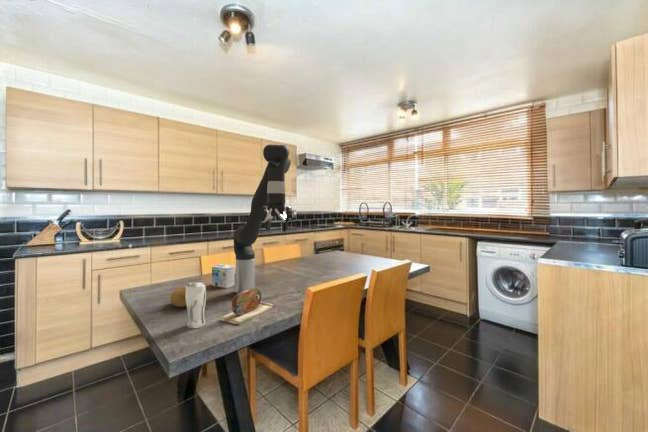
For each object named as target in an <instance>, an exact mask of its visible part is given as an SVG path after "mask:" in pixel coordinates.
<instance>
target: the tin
mask: <svg viewBox="0 0 648 432" xmlns="http://www.w3.org/2000/svg"><path fill="white" fill-rule="evenodd" d="M260 302H262V293H261V291H260V289H259V288H256V287H255V289H254V288H251V289H248V290H246V291H243V292H241V293H239V294H235V296H234V297H233V299H232V301H231V312H234V313H235V314H237V315H244V314H246V313H248V312H250V311H252V310H254V309H256V308H257V307H258V306H259V304H260Z"/></svg>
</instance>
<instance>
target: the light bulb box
mask: <svg viewBox="0 0 648 432" xmlns="http://www.w3.org/2000/svg"><path fill="white" fill-rule="evenodd" d="M235 273H236V265H230V264H221V263H220V264H216V265H212V266H211V286H213V287H218V288H224V289H228V288H231V287H233V286H234V274H235Z"/></svg>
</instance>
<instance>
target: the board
mask: <svg viewBox="0 0 648 432" xmlns="http://www.w3.org/2000/svg"><path fill="white" fill-rule="evenodd" d="M271 308H273V303H269V302H264V301H260V304H259V306H258V307H257V308H256V309H254V310H252V311H250V312H248V313H246V314H244V315H237V314H235V313H234V312H233V311H231V312H229V313H227V314H225V315H221V316H219V321H222V322H226V323H230V324H234V325H237V326H241V325H243V324H244V323H247V322H248V321H250V320H251V319H253V318H255V317H257V316H259V315H261V314H262V313H265V312H266V311H268V310H269V309H271Z"/></svg>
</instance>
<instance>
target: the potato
mask: <svg viewBox="0 0 648 432" xmlns="http://www.w3.org/2000/svg"><path fill="white" fill-rule="evenodd" d="M185 294H186V285H182V286H178V287H176V288H175V289H174V290H173V292H171V295H170V298H169V299H170V303H171V304H172V305H174V306H175V307H178V308H179V307H181V308H183V307H187V306H186V298H185Z"/></svg>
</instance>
